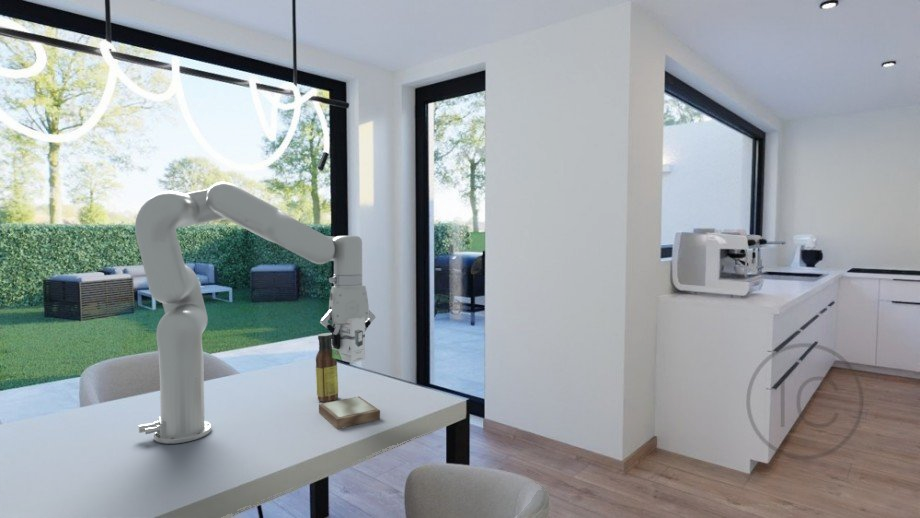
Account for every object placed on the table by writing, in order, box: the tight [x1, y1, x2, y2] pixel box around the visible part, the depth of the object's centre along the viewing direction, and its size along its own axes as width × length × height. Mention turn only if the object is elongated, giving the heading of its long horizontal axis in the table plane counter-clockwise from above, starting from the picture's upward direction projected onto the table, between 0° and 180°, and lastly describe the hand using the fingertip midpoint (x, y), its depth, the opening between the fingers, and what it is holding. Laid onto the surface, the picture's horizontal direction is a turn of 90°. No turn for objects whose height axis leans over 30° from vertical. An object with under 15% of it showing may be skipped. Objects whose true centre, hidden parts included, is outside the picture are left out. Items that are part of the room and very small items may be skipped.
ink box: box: [332, 317, 366, 364], centre depth 138 cm, size 9×5×12 cm, turn 52°
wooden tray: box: [318, 396, 381, 430], centre depth 139 cm, size 12×14×3 cm
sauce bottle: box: [315, 332, 339, 403], centre depth 152 cm, size 7×6×20 cm
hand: (348, 346), depth 138 cm, fingers closed on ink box, 6 cm apart
